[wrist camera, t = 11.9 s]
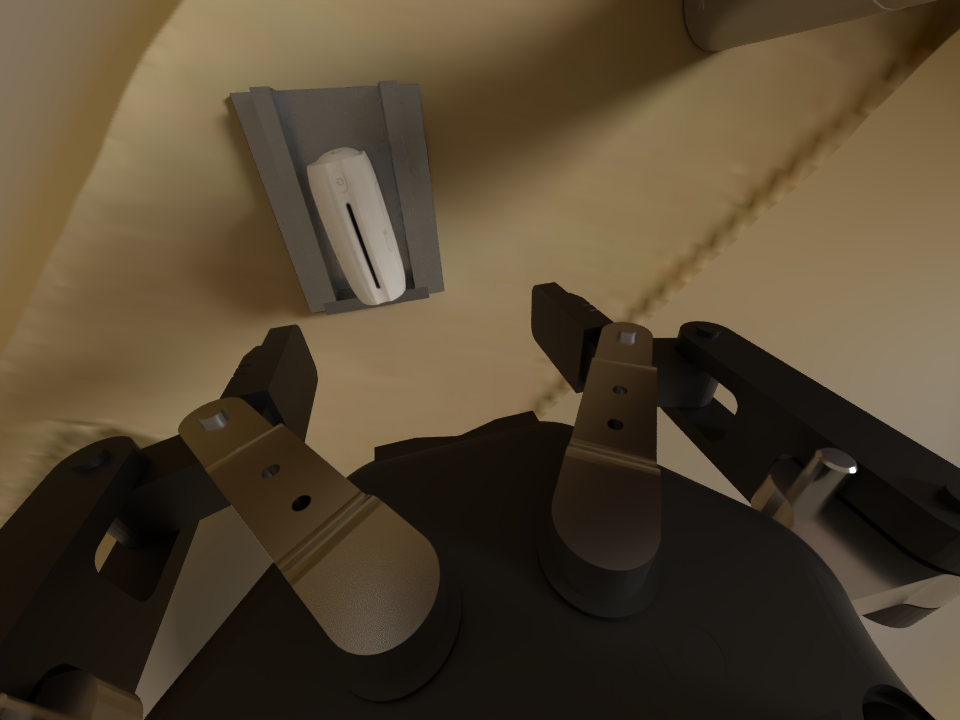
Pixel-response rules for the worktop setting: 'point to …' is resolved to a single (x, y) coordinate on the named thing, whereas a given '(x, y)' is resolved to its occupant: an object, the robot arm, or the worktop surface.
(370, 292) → the photo printer
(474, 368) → the worktop surface
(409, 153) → the bracket
